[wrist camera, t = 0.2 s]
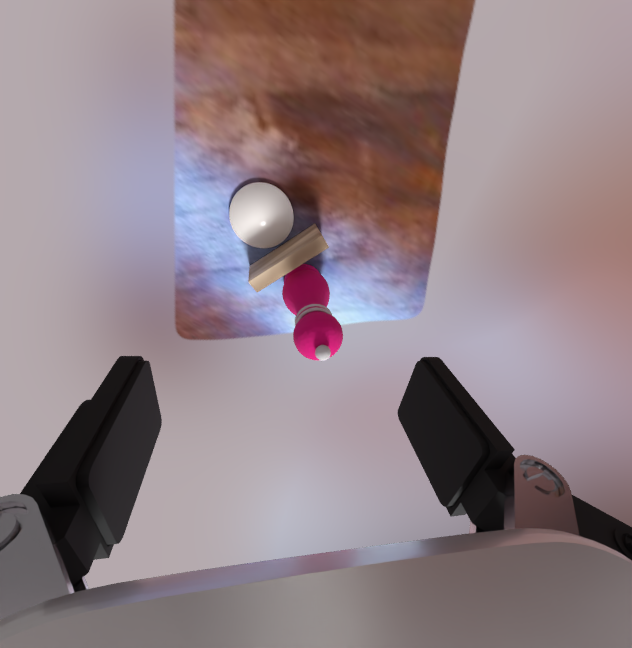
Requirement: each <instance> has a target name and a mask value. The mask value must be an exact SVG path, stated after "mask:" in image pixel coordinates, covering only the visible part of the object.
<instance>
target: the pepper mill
mask: <svg viewBox="0 0 632 648" xmlns="http://www.w3.org/2000/svg"><path fill="white" fill-rule="evenodd" d="M282 294H283V299H284V302H285V304H286V306H287V308H288V309H289V310H290V311H291V312H292V313H293V314H295V315H296V317H295V329H294V333H293V335H294V343H295V345H296V347H297V349H298V351H299V352H300V353H301V354H302V355H303V356H305V357H306V358H309V359H312V360H322V361H324V360H327V359H328V358H329V357H331V356H332V355H334V354H335V353H336V352H337V350H338V349H339V348H340V346H341V344H342V339H343V334H342V328H341V325H340V324H339V322H338V321H337V320H336V318H335V317H333V316H332V314H331V312H330V310H329V309H328V308H327V305H328V302H329V295H330V292H329V287H328V284H327V282H326V280H325V279H324V277H323V276H322V275H320V273H319V271H318V270H317V269H316V268H315V267H313V266H311V265H308V264H302V265H300V266H298V267H297V268H295V269H294V270H292V271H290V272H289V273H287V274H286V275H285V278H284V286H283V293H282Z"/></svg>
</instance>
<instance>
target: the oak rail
mask: <svg viewBox="0 0 632 648" xmlns="http://www.w3.org/2000/svg"><path fill="white" fill-rule="evenodd" d="M327 248H329V247H328V245H327V243H326V241H325V240H324V238H323V236H322V234H321V233H320V231H319V229H318V228H317V226H316V224H313V225H312V226H310V227H309V228H307V229H306V230H304V231H303V232H301V233H299V234H298V235H296V236H295V237H293V238H292V239H290V240H289V241H287V242H286V243H284V244H282V245H281V246H279V247H278V248H276V249H275V250H273V251H272V252H270V253H269V254H267V255H266V256H264V257H262V258H261V259H259V260H258V261H256V262H255V263H253V264H252V265H250V268H249V280H248V282H249V283H250V284H251V286H252V287H253V288H254V289H255V291H256V292H259V291H260V290H262V289H263V288H265V287H267V286H268V285H270V284H271V283H273V282H275V281H276V280H278V279H279V278H281V277H282V276H284V275H286V274H287V273H289V272H290V271H292V270H294V269H295V268H297V267H298V266H300V265H302V264H303V263H305V262H306V261H308V260H310V259H311V258H313V257H314V256H316V255H318V254H319V253H321V252H322V251H324V250H326V249H327Z"/></svg>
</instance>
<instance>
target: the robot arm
mask: <svg viewBox="0 0 632 648" xmlns="http://www.w3.org/2000/svg"><path fill="white" fill-rule="evenodd" d="M398 417H399V420H400V422H401V424H402V426H403V428H404V430H405V432H406V434H407V436H408V438H409V440H410V442H411V444H412V446H413V448H414V450H415V452H416V455H417V457H418V459H419V461H420V463H421V465H422V467H423V469H424V471H425V473H426V475H427V477H428V478H429V481H430V483H431V485H432V487H433V489H434V491H435V493H436V495H437V497H438V499H439V501H440V503H441V504H442V505H443V506H445V507H446V508H447V510H448V512H449V514H450V516H458V515H465V514H466V513H467V514H468V516H469V518H470V520H471V521H470V530H469V534H462V535H455V536H447V537H439V538H432V539H423V540H416V541H408V542H400V543H393V544H386V545H379V546H370V547H364V548H356V549H349V550H341V551H334V552H326V553H319V554H312V555H305V556H297V557H290V558H283V559H275V560H269V561H261V562H255V563H247V564H240V565H233V566H226V567H219V568H212V569H205V570H197V571H190V572H185V573H178V574H171V575H165V576H159V577H153V578H146V579H140V580H134V581H128V582H121V583H116V584H111V585H106V586H102V587H97V588H92V589H89V587H88V585H87V582H86V580H85V577H84V576H85V575H86V574H87V573H88V572H89V570H90V567H91V565H92V562H93V560H95V559H102V558H109V556H110V553H111V550H112V547H113V545H114V544H117V543H119V542H120V541H121V540H122V538H123V535H124V533H125V530H126V527H127V524H128V521H129V518H130V515H131V512H132V509H133V506H134V503H135V501H136V498H137V495H138V492H139V489H140V486H141V484H142V481H143V478H144V475H145V472H146V468H147V466H148V463H149V461H150V457H151V455H152V452H153V449H154V446H155V443H156V440H157V437H158V435H159V432H160V428H161V414H160V409H159V405H158V400H157V395H156V391H155V386H154V381H153V376H152V371H151V367H150V363H149V361H144V360H143V358H142V357H141V356H121V357H119V358H118V359H117V361H116V363H115V364H114V365H113V367H112V368H111V370H110V371H109V373H108V375H107V376H106V378H105V379H104V381H103V382H102V384H101V385H100V387H99V388H98V390H97V391H96V393H95V394H94V396H93V398H92V399H91V400H86V401H84V402H83V403H82V404H81V405H80V406H79V408H78V409H77V411H76V412H75V414H74V415H73V417H72V418H71V420H70V421H69V422H68V424H67V425H66V427H65V429H64V430H63V431H62V433H61V434H60V436H59V437H58V439H57V440H56V442H55V443H54V445H53V446H52V448H51V449H50V450H49V452H48V453H47V455H46V456H45V458H44V459H43V461H42V462H41V464H40V465H39V467H38V468H37V470H36V471H35V472H34V474H33V475H32V477H31V478H30V480H29V481H28V483H27V484H26V486H25V487H24V489H23V490H22V492H21V493H20V494H12V495H8V496H3V497H0V648H632V527H630V526H628V525H626V524H625V523H623V522H621V521H619V520H617V519H615V518H614V517H612V516H610V515H608V514H606V513H604V512H602V511H601V510H599V509H597V508H595V507H593V506H592V505H590V504H588V503H586V502H584V501H582V500H581V499H579V498H577V497H575V496H573V495H572V494H571V490H570V487H569V485H568V483H567V482H566V480H565V479H564V477H563V476H562V475H561V474H560V473H559V472H558V471H557V470H556V469H555V468H553V467H552V466H551V465H549V464H548V463H546V462H545V461H543V460H541V459H539V458H536V457H534V456H530V455H520V456H518V457H517V458H515V457H514V456H513V454H512V452H513V451H514V448H513V447H512V446H511V445H510V443H509V442H508V441H507V440H506V438H505V437H504V436H503V435H502V434H501V432H500V431H499V430H498V429H497V428H496V426H495V425H494V424H493V423H492V421H491V420H490V419H489V418H488V417H487V415H486V414H485V413H484V412H483V410H482V409H481V408H480V407H479V406H478V404H477V403H476V402H475V401H474V399H473V398H472V397H471V396H470V394H469V393H468V392H467V391H466V390H465V388H464V387H463V386H462V385H461V383H460V382H459V381H458V380H457V378H456V377H455V376H454V375H453V374H452V372H451V371H450V370H449V369H448V368H447V366H446V365H445V364H444V363H443V361H442V360H441V359H440V358H438V357H423V358H422V359H421V360H420V361H418V362H417V363H416V365H415V368H414V371H413V373H412V376H411V378H410V381H409V383H408V386H407V389H406V391H405V394H404V396H403V399H402V401H401V404H400V406H399V409H398Z"/></svg>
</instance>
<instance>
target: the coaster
mask: <svg viewBox="0 0 632 648" xmlns="http://www.w3.org/2000/svg"><path fill="white" fill-rule="evenodd" d="M229 217H230V222H231V225H232V228H233V230H234V232H235V233H236V235H237V236H238V237H239V238H240V239H241V240H242V241H243V242H245V243H246V244H248V245H250V246H253V247H256V248H271V247H274V246H277V245H278V244H280V243H281V242H283V241H284V240H285V239H286V238H287V236H288V235H289V233H290V232H291V229H292V226H293V221H294V215H293V209H292V206H291V203H290V201H289V199H288V198H287V196H286V195H285V194H284V193H283V192H282V191H281V190H280V189H279V188H277V187H276V186H274V185H272V184H269V183H264V182H254V183H250V184H248V185H245V186H244V187H242V188H241V189H240V190H239V191H238V192H237V193H236V194H235V196H234V197H233V199H232V202H231V205H230V210H229Z"/></svg>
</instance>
